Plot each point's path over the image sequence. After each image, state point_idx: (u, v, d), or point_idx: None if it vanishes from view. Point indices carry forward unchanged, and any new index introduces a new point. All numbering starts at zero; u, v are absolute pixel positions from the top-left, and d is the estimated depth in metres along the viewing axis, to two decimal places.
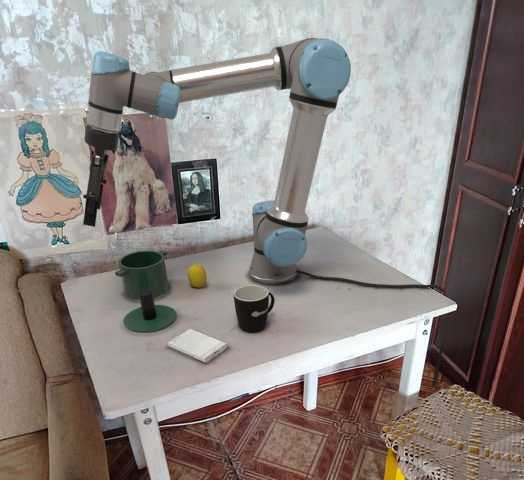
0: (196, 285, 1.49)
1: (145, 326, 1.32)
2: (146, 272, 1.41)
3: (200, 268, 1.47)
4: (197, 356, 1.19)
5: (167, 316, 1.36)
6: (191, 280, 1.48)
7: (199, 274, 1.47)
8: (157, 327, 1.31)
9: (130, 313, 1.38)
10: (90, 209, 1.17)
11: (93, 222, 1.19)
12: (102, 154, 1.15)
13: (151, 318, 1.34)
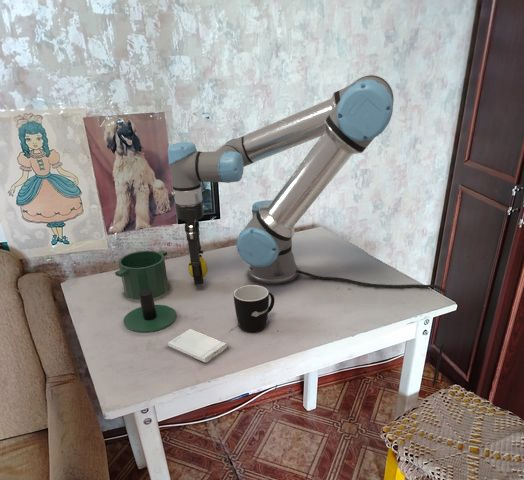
0: None
1: (145, 326, 1.32)
2: (146, 272, 1.41)
3: (200, 260, 1.46)
4: (197, 356, 1.19)
5: (167, 316, 1.36)
6: (192, 272, 1.46)
7: None
8: (157, 327, 1.31)
9: (130, 313, 1.38)
10: (196, 272, 1.44)
11: (201, 281, 1.47)
12: (193, 224, 1.37)
13: (151, 318, 1.34)
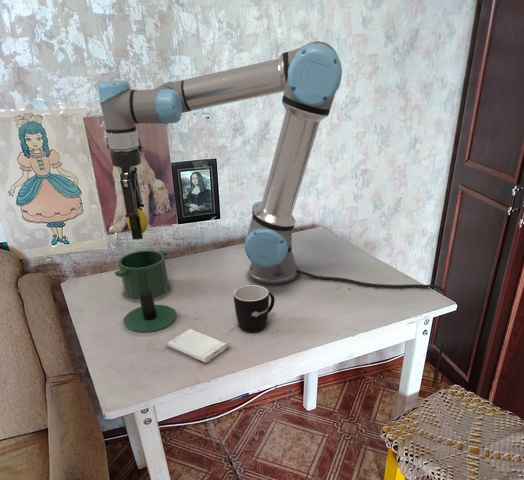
0: None
1: (145, 326, 1.32)
2: (146, 272, 1.41)
3: (139, 212, 1.37)
4: (197, 356, 1.19)
5: (167, 316, 1.36)
6: None
7: None
8: (157, 327, 1.31)
9: (130, 313, 1.38)
10: (134, 225, 1.35)
11: (140, 235, 1.38)
12: (128, 171, 1.28)
13: (151, 318, 1.34)
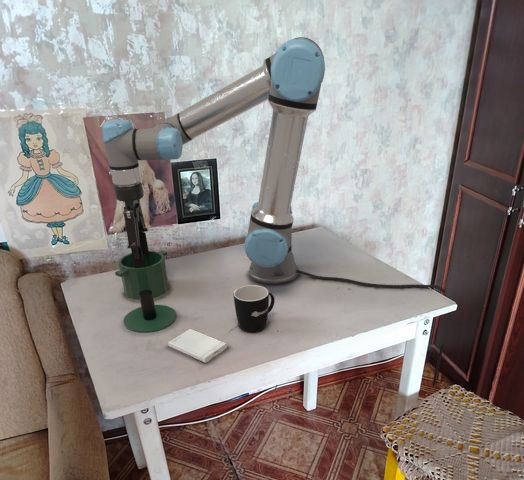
0: None
1: (145, 326, 1.32)
2: (146, 272, 1.41)
3: None
4: (197, 356, 1.19)
5: (167, 316, 1.36)
6: None
7: None
8: (157, 327, 1.31)
9: (130, 313, 1.38)
10: (136, 255, 1.38)
11: (142, 265, 1.40)
12: (132, 205, 1.33)
13: (151, 318, 1.34)
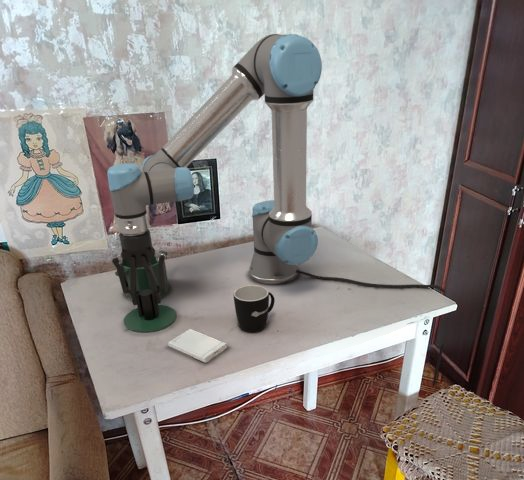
0: None
1: (145, 326, 1.32)
2: (146, 272, 1.41)
3: None
4: (197, 356, 1.19)
5: (167, 316, 1.36)
6: None
7: None
8: (157, 327, 1.31)
9: (130, 313, 1.38)
10: None
11: (158, 308, 1.35)
12: None
13: (151, 318, 1.34)
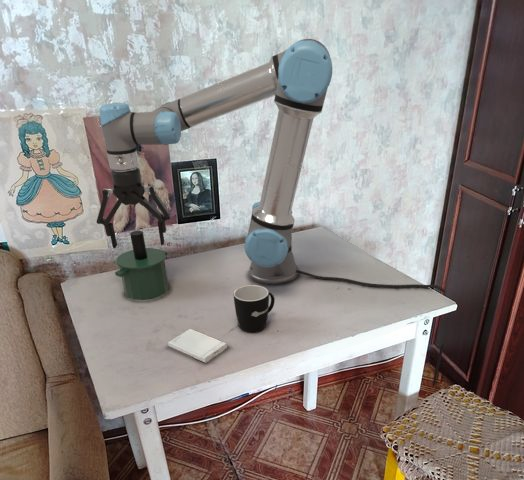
0: None
1: (136, 264, 1.41)
2: (146, 272, 1.41)
3: None
4: (197, 356, 1.19)
5: (157, 256, 1.45)
6: None
7: None
8: (147, 265, 1.40)
9: (122, 255, 1.47)
10: None
11: (163, 238, 1.43)
12: None
13: (142, 258, 1.43)
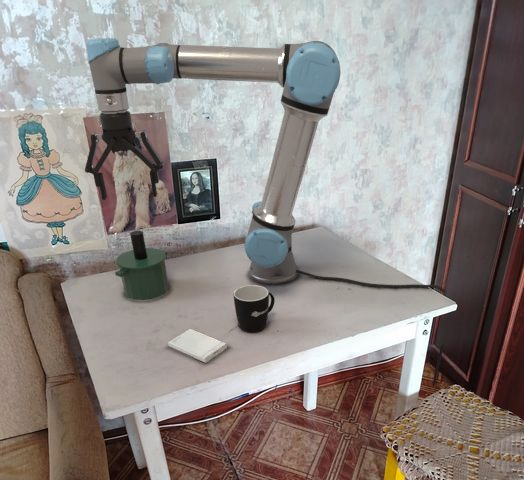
0: None
1: (136, 264, 1.41)
2: (146, 272, 1.41)
3: None
4: (197, 356, 1.19)
5: (157, 256, 1.45)
6: None
7: None
8: (147, 265, 1.40)
9: (122, 255, 1.47)
10: None
11: (156, 190, 1.36)
12: None
13: (142, 258, 1.43)
